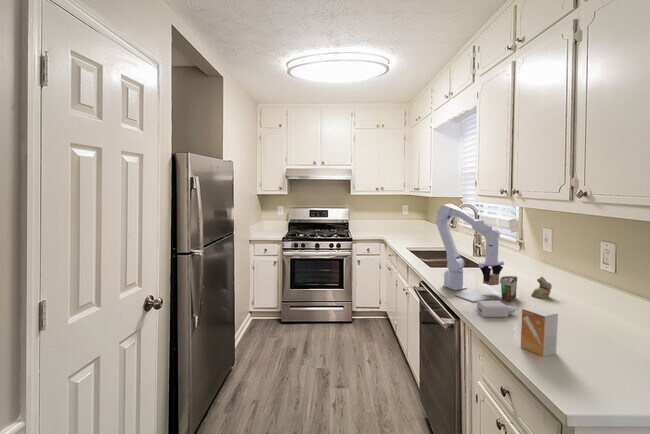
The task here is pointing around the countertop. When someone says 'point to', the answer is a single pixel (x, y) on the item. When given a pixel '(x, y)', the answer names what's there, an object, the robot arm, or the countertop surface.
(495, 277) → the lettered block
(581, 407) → the countertop surface
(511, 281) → the food container
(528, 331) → the small box
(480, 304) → the charger
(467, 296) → the slate board
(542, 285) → the chocolate bunny
